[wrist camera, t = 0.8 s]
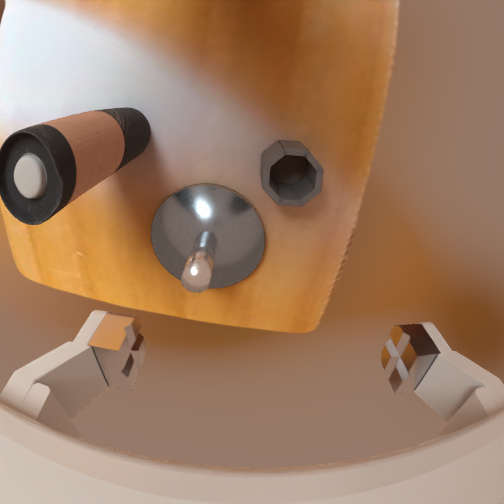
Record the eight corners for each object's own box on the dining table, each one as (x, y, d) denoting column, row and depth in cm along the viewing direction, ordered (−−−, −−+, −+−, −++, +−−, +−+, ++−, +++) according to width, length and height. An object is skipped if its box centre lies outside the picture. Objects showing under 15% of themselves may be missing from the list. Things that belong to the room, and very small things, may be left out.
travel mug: (93, 123, 31) (-16, 163, 14) (138, 95, 29) (33, 107, 12) (115, 170, 34) (22, 240, 17) (161, 146, 33) (76, 202, 16)
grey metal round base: (148, 182, 36) (117, 213, 27) (269, 186, 36) (274, 218, 27) (159, 280, 44) (141, 325, 35) (260, 286, 44) (261, 334, 35)
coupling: (263, 138, 33) (265, 146, 28) (314, 143, 33) (325, 152, 28) (259, 187, 36) (260, 203, 31) (308, 190, 36) (317, 207, 31)
